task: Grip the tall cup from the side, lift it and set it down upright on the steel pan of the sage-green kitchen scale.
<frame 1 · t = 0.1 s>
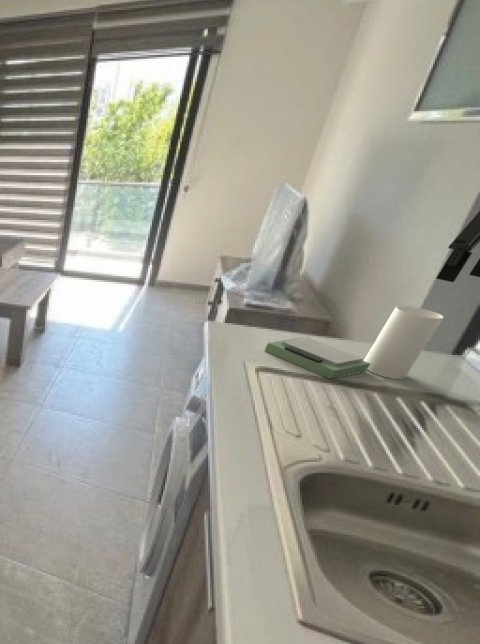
hand: (461, 278, 108), 25 cm above the table, tool pointing down, fingers open, 13 cm apart
scale: (313, 361, 124), on the table
cup: (382, 371, 121), on the table
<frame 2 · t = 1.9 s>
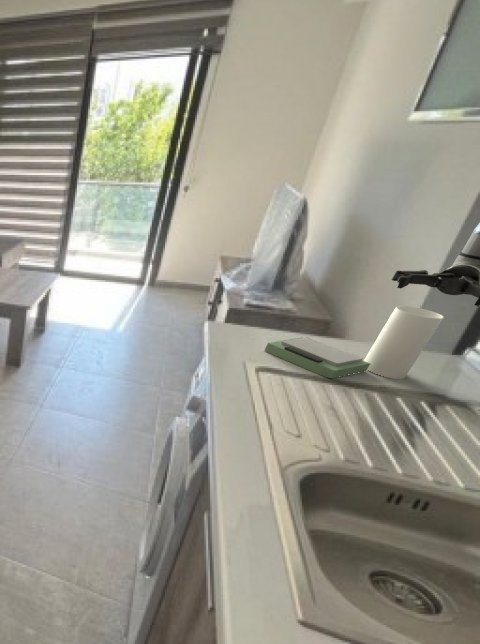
hand: (439, 291, 116), 20 cm above the table, tool horizontal, fingers open, 13 cm apart
nothing on the table moved.
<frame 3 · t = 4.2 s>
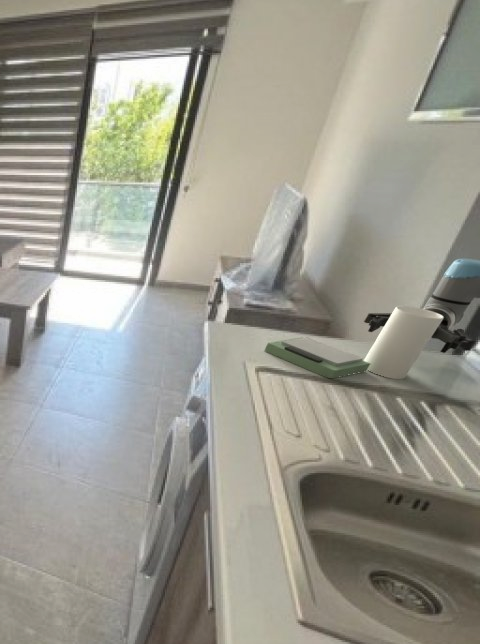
hand: (407, 336, 119), 8 cm above the table, tool horizontal, fingers open, 13 cm apart
nothing on the table moved.
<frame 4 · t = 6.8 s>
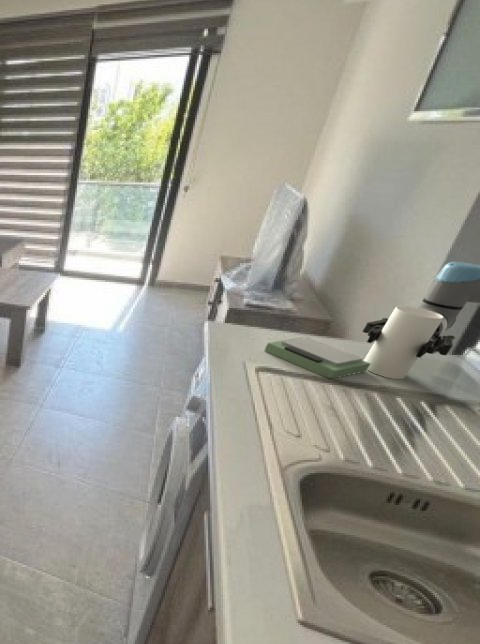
hand: (395, 344, 114), 8 cm above the table, tool horizontal, fingers closed on cup, 8 cm apart
cup: (382, 371, 121), on the table, touching gripper
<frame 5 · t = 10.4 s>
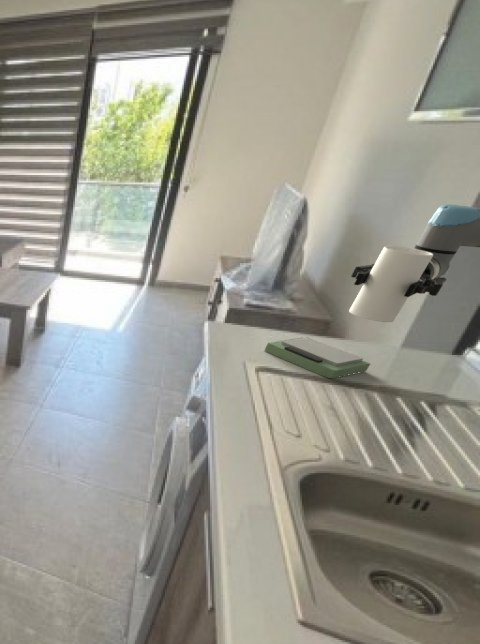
hand: (383, 285, 110), 22 cm above the table, tool horizontal, fingers closed on cup, 8 cm apart
cup: (370, 316, 117), point 13 cm above the table, touching gripper
when the fingers open (12 cm above the table, at t = 14.5 s): cup stays where it is, resting on scale.
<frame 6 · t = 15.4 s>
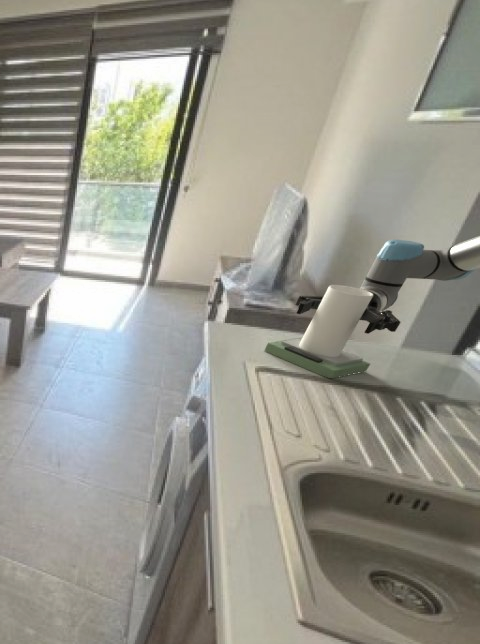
hand: (333, 318, 117), 13 cm above the table, tool horizontal, fingers open, 13 cm apart
cup: (318, 350, 123), point 3 cm above the table, touching scale
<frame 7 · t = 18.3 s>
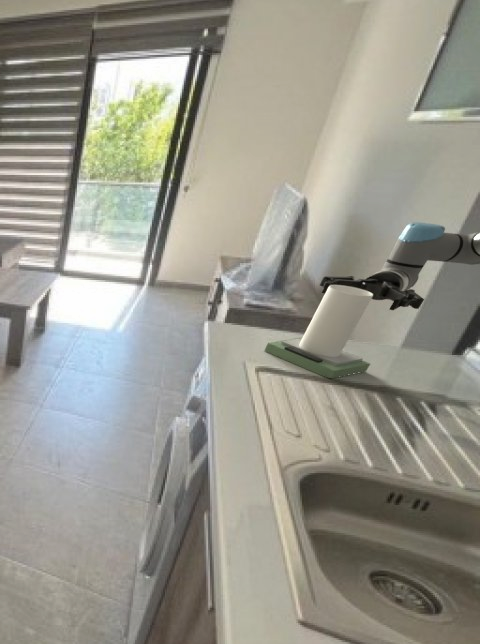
hand: (358, 296, 121), 16 cm above the table, tool horizontal, fingers open, 13 cm apart
nothing on the table moved.
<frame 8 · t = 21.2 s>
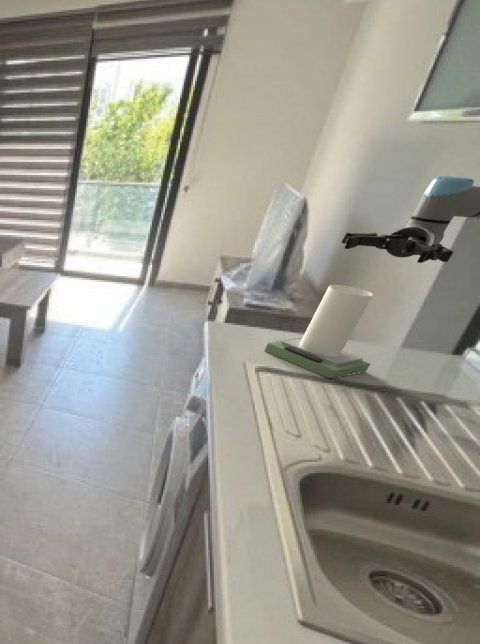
hand: (383, 249, 116), 28 cm above the table, tool horizontal, fingers open, 13 cm apart
nothing on the table moved.
at the end: cup inside the target area on the scale (0.8 cm from its centre), point 3.0 cm above the scale's base; cup tilted 0°; the gripper is holding nothing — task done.
